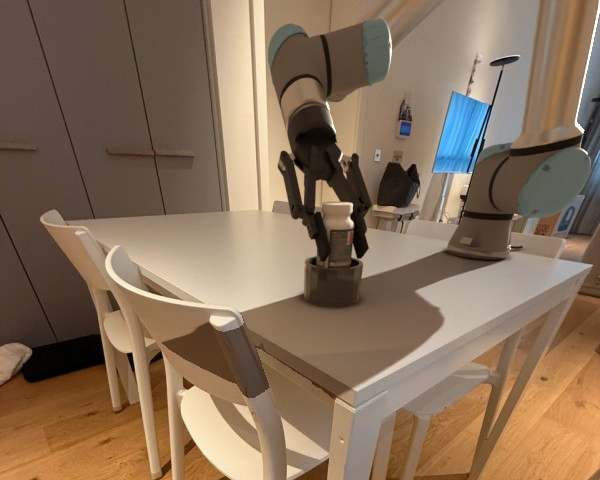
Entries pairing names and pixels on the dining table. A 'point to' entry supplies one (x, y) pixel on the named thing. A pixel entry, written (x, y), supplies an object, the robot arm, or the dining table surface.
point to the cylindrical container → (332, 284)
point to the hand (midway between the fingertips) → (344, 254)
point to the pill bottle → (338, 234)
